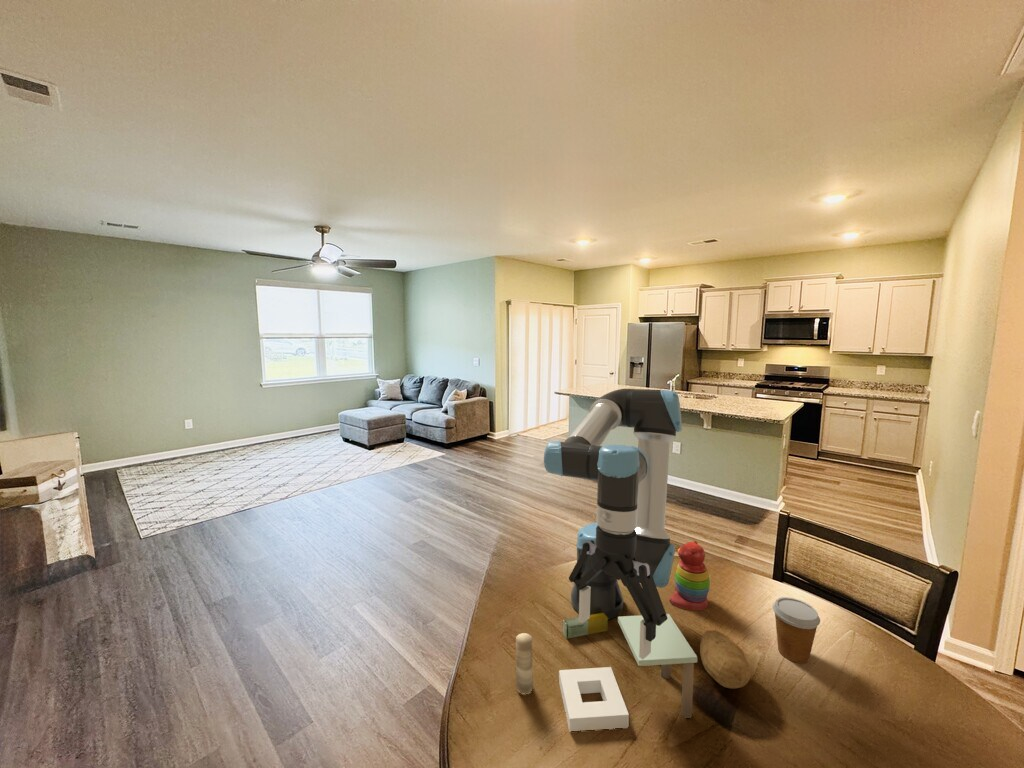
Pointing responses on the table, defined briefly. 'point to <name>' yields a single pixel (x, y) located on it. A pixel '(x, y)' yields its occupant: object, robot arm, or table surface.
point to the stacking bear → (691, 578)
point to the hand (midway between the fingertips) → (612, 636)
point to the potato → (724, 660)
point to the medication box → (585, 626)
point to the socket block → (592, 713)
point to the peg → (524, 663)
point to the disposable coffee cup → (795, 628)
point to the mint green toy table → (664, 653)
